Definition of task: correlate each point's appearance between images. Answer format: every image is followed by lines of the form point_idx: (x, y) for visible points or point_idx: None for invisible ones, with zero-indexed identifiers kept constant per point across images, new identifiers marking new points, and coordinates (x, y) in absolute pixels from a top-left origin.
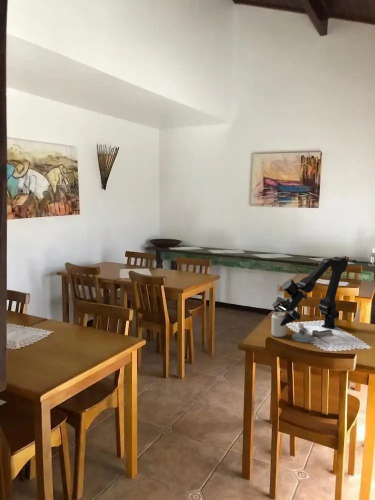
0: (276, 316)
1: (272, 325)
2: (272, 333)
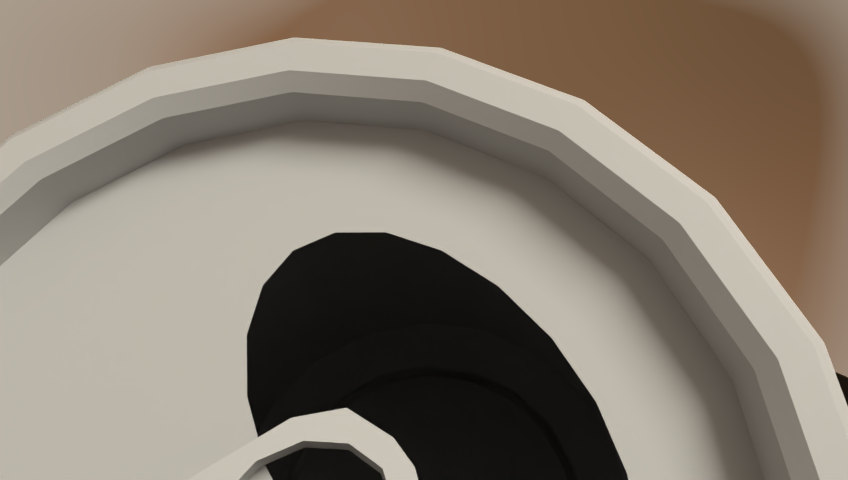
0: (40, 198)
1: (379, 245)
2: (407, 319)
